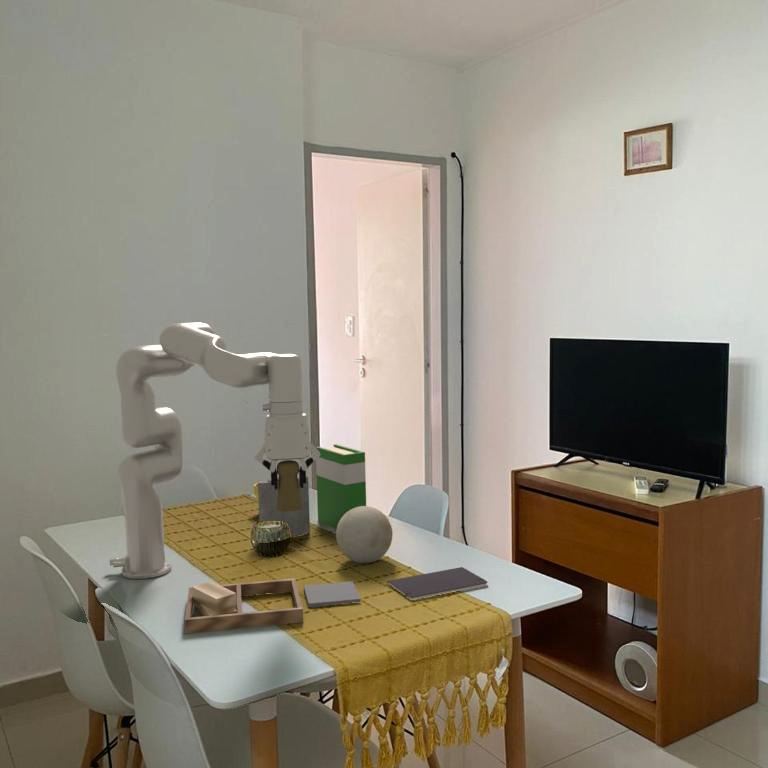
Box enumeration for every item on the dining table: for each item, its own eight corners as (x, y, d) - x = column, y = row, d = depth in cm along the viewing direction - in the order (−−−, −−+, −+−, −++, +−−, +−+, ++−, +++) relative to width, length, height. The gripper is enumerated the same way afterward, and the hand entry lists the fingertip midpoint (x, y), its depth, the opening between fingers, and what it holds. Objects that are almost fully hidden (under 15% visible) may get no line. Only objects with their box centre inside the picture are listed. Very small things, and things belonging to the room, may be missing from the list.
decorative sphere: (328, 558, 220) (326, 504, 218) (377, 550, 226) (376, 497, 225) (351, 574, 206) (349, 517, 205) (403, 565, 213) (401, 509, 212)
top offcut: (216, 612, 177) (216, 599, 176) (192, 599, 185) (191, 586, 185) (236, 606, 180) (236, 593, 180) (211, 593, 188) (211, 581, 188)
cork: (277, 512, 181) (276, 464, 180) (274, 506, 187) (272, 459, 186) (304, 510, 183) (302, 462, 182) (300, 503, 189) (299, 457, 188)
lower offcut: (210, 629, 175) (209, 615, 175) (195, 607, 188) (195, 595, 187) (237, 623, 178) (236, 610, 177) (221, 603, 190) (220, 590, 190)
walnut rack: (185, 633, 172) (184, 619, 171) (189, 599, 191) (189, 587, 191) (303, 622, 176) (302, 608, 176) (295, 590, 196) (295, 578, 196)
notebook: (462, 572, 208) (387, 586, 199) (462, 566, 207) (387, 580, 199) (488, 588, 196) (410, 603, 187) (488, 581, 196) (410, 597, 187)
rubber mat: (308, 607, 185) (308, 603, 185) (303, 589, 196) (303, 585, 196) (360, 602, 187) (360, 598, 187) (352, 585, 199) (352, 581, 198)
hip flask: (307, 531, 247) (305, 466, 245) (313, 534, 243) (310, 468, 241) (258, 539, 239) (255, 473, 237) (263, 543, 235) (260, 475, 233)
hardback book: (318, 521, 258) (315, 446, 255) (338, 517, 262) (336, 444, 259) (345, 533, 243) (343, 455, 240) (366, 529, 247) (364, 452, 244)
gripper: (247, 412, 178) (251, 493, 180) (325, 409, 181) (327, 489, 182) (247, 408, 185) (250, 486, 187) (322, 405, 188) (324, 481, 190)
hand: (288, 486), depth 185 cm, fingers closed on cork, 5 cm apart
